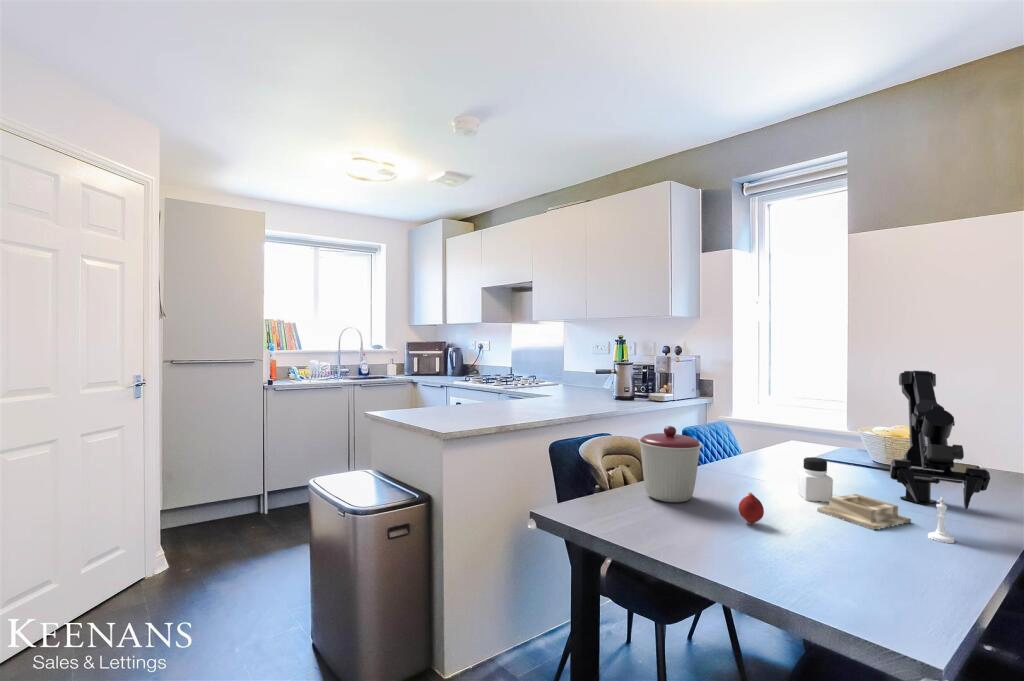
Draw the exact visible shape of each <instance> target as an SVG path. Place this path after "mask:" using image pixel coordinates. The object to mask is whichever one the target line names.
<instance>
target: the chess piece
mask: <svg viewBox="0 0 1024 681" xmlns="http://www.w3.org/2000/svg"><path fill="white" fill-rule="evenodd" d="M937 502H939V503H935V504H936V505H935V506H936V509H937V513H935V516H936V517H938V520H937V521H938V522H937V526H936V530H934V531H932V532H931V531H930V532H928V535H927V537H928V539H930V538H931V539H930V540H932V539H934V540H933V541H935V540H937V541H936V542H939V541H940V543H944V542H945V543H946V544H953V543H955V538H954V537H953V536H952V535H949V534H948V532H946V525H945V519H946V518H948V515H947V514H945V513H946V510H947V509H948V506H947V505H945V504H944V503H946V502H947V499H944V497H943V496H940V497H939V499H937Z"/></svg>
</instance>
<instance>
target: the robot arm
mask: <svg viewBox="0 0 1024 681" xmlns="http://www.w3.org/2000/svg"><path fill="white" fill-rule="evenodd" d="M898 384H899V386H901V393H902V394H903V395H904V396H905V398H906V400H908V422H909V424H908V427H909V447H908V449H907V451H906V452H905V453H904V454H903V458H902V459H897V458H893V459H892V460H891V461H890V462H891V463H890V467H889V468H890V469H889V471H890V472H889V474H890V476H889V477H890V479H892V480H894V481H896V482H897V483H900V484H902V485H903V486H904V487H905V495H903V496H900V497H899V498H901V499H900V500H904V499H905V501H907V500H909V501H908V502H911V501H912V503H915V502H916V503H915V504H918V503H919V505H922V504H923V506H926V505H931V504H937V502H938V500H934V499H931V494H932V484H936V485H938V484H940V481H941V480H942V479H943V480H950V481H958V482H963V486H964V487H963V505H964V509H965V510H968V508H969V505H970V502H971V499H972V496H973V495H974V494H975V493H976V494H978V493H980V492H983V491H987V489H988V486H989V483H990V481H991V475H990V472H989V471H988V470H987V469H986V468H979V467H970V466H967V467H966V469H965V471H964V472H961V471H953V470H952V469H953V468H954V466H955V462H954V461H955V460H963V459H964V455H965V453H964V448H963V444H962V445H959V444H952V446H951V445H949V443H948V439H949V438H950V436H951V434H952V429H953V427H955V423H956V421H955V417H954V416H953V414H952V413H951V412H950V411H947V410H945V407H944V406H942V405H941V404H939V403H938V402H937V397H936V394H935V389H934V388H935V387H936V386H937V375H936V373H933V371H929V370H903V372H901V373H899V375H898Z"/></svg>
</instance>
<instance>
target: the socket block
mask: <svg viewBox="0 0 1024 681" xmlns="http://www.w3.org/2000/svg"><path fill="white" fill-rule="evenodd" d="M828 503H829V504H828V505H826V506H819V507H817V508H816V509H817V511H816V512H818V511H820V512H819V513H821V512H823V513H822V514H824V513H826V514H825V515H827V514H829V515H828V516H830V515H832V516H831V517H833V516H835V517H834V518H836V517H838V518H837V519H839V518H841V519H840V520H842V519H844V520H843V521H845V520H847V521H846V522H848V521H850V522H849V523H851V522H853V523H852V524H854V523H856V524H855V525H857V524H859V525H858V526H860V525H862V526H861V527H863V526H865V527H864V528H866V527H868V528H867V529H869V528H871V529H870V530H872V529H878V530H880V529H879V528H883V527H888V526H892V525H897V526H899V525H898V524H902V523H907V522H911V523H912V518H910V517H906V516H903V515H899V505H896V504H893V503H889V502H886V501H883V500H879V499H875V498H872V497H869V496H865V495H861V494H858V493H854V494H846V495H840V496H832V498H829V502H828ZM907 524H908V523H907ZM902 525H903V524H902ZM892 527H893V526H892ZM888 528H889V527H888ZM883 529H884V528H883Z"/></svg>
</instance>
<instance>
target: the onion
mask: <svg viewBox="0 0 1024 681" xmlns="http://www.w3.org/2000/svg"><path fill="white" fill-rule="evenodd" d="M747 494H748V495H746V496H745V497H743V498H742V499H741V500H740V502H739V503H738V512H739V514H740V516H741V517H742V518H743V520H745V521H746V522H747V524H749V525H753V524H755V523H757V522H759V521H760V520H762V518H763V517H764V515H765V510H764V509H765V508H764V506H763V504H762V501H760V499H759V498H758V497H757V496H755V495H754V494H753V493H752V492H751V491H749V492H748V493H747Z"/></svg>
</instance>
